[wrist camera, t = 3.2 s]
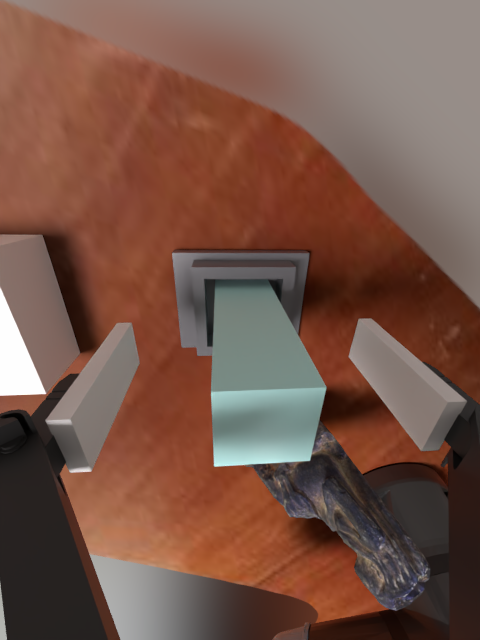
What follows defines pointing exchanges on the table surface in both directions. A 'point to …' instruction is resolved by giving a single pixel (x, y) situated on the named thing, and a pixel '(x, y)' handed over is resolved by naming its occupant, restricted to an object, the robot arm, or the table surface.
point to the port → (31, 319)
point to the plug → (260, 379)
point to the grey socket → (209, 265)
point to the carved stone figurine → (351, 518)
